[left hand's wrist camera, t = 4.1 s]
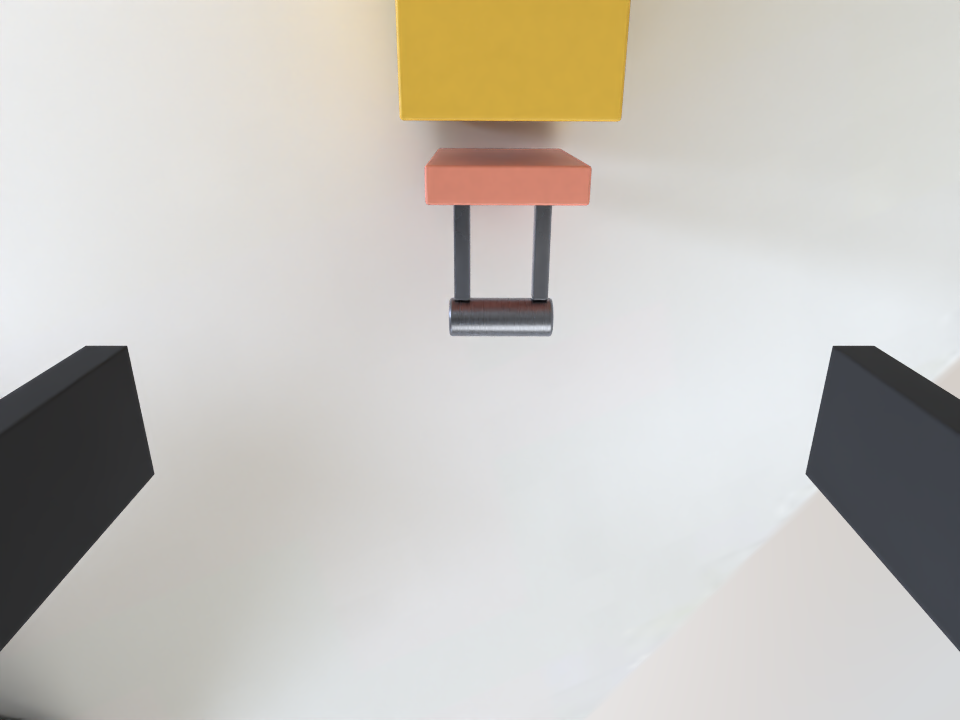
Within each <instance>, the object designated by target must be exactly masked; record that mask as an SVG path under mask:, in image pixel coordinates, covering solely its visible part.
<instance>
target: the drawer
mask: <svg viewBox="0 0 960 720" xmlns="http://www.w3.org/2000/svg"><path fill="white" fill-rule="evenodd" d="M591 170H592V169H591V166H589V165H587V164H585V163H584V162H582V161H580V160H579V159H577V158H575V157H573V156H572V155H570V154H568V153H567V152H565V151H563V150H561V149H485V148H440V149H438V150H437V152H436V153H435V154H434V155H433V157H432V158H431V159H430V161H429V162H428V163H427V165H426V166H425V202H426V204H428V205H454V288H455V298H451V299H450V304H449V330H450V335H451V336H551V334H552V330H553V303H552V300H551V299H550V298H548V281H549V259H550V237H551V214H552V205H588V204H589V200H590V185H591ZM470 205H534V233H533V262H532V290H531V296H532V298H470Z"/></svg>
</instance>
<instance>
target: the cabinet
mask: <svg viewBox="0 0 960 720" xmlns="http://www.w3.org/2000/svg"><path fill="white" fill-rule="evenodd" d="M630 2H631V0H395V5H396V31H397V58H398V84H399V110H400V119H401V120H432V121H620V120H621V115H622V103H623V90H624V77H625V65H626V52H627V40H628V27H629V14H630Z"/></svg>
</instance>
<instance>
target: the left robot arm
mask: <svg viewBox="0 0 960 720" xmlns="http://www.w3.org/2000/svg"><path fill="white" fill-rule="evenodd" d="M153 475H154V470H153V465H152V460H151V456H150V451H149V446H148V442H147V437H146V432H145V428H144V423H143V418H142V414H141V409H140V404H139V400H138V395H137V390H136V385H135V381H134V376H133V371H132V367H131V362H130V357H129V353H128V348H127V346H85V347H83V348H82V349H80V350H79V351H77V352H75V353H74V354H72V355H71V356H69V357H67V358H66V359H64V360H63V361H61V362H59V363H58V364H56V365H55V366H53V367H51V368H50V369H48V370H47V371H45V372H43V373H42V374H40V375H39V376H37V377H35V378H34V379H32V380H31V381H29V382H27V383H26V384H24V385H23V386H21V387H19V388H18V389H16V390H15V391H13V392H11V393H10V394H8V395H7V396H5V397H3V398H2V399H0V651H1V650H2V649H3V648H4V647H5V645H6V644H7V643H8V642H9V641H10V640H11V639H12V637H13V636H14V635H15V634H16V633H17V632H18V630H19V629H20V628H21V627H22V626H23V625H24V624H25V622H26V621H27V620H28V619H29V618H30V617H31V615H32V614H33V613H34V612H35V611H36V610H37V609H38V607H39V606H40V605H41V604H42V603H43V602H44V601H45V599H46V598H47V597H48V596H49V595H50V594H51V592H52V591H53V590H54V589H55V588H56V587H57V586H58V584H59V583H60V582H61V581H62V580H63V579H64V578H65V576H66V575H67V574H68V573H69V572H70V571H71V569H72V568H73V567H74V566H75V565H76V564H77V563H78V561H79V560H80V559H81V558H82V557H83V556H84V554H85V553H86V552H87V551H88V550H89V549H90V548H91V546H92V545H93V544H94V543H95V542H96V541H97V540H98V538H99V537H100V536H101V535H102V534H103V533H104V531H105V530H106V529H107V528H108V527H109V526H110V525H111V523H112V522H113V521H114V520H115V519H116V518H117V517H118V515H119V514H120V513H121V512H122V511H123V510H124V508H125V507H126V506H127V505H128V504H129V503H130V502H131V500H132V499H133V498H134V497H135V496H136V495H137V494H138V492H139V491H140V490H141V489H142V488H143V487H144V485H145V484H146V483H147V482H148V481H149V480H150V479H151V477H152V476H153ZM806 475H807V476H808V477H809V479H810V480H811V481H812V482H813V483H814V484H815V485H816V487H817V488H818V489H819V490H820V491H821V492H822V494H823V495H824V496H825V497H826V498H827V499H828V500H829V502H830V503H831V504H832V505H833V506H834V507H835V508H836V510H837V511H838V512H839V513H840V514H841V515H842V517H843V518H844V519H845V520H846V521H847V522H848V523H849V525H850V526H851V527H852V528H853V529H854V530H855V531H856V533H857V534H858V535H859V536H860V537H861V538H862V540H863V541H864V542H865V543H866V544H867V545H868V546H869V548H870V549H871V550H872V551H873V552H874V553H875V554H876V556H877V557H878V558H879V559H880V560H881V561H882V563H883V564H884V565H885V566H886V567H887V568H888V569H889V571H890V572H891V573H892V574H893V575H894V576H895V577H896V579H897V580H898V581H899V582H900V583H901V584H902V586H903V587H904V588H905V589H906V590H907V591H908V592H909V594H910V595H911V596H912V597H913V598H914V599H915V601H916V602H917V603H918V604H919V605H920V606H921V607H922V609H923V610H924V611H925V612H926V613H927V614H928V615H929V617H930V618H931V619H932V620H933V621H934V622H935V623H936V625H937V626H938V627H939V628H940V629H941V630H942V632H943V633H944V634H945V635H946V636H947V637H948V639H949V640H950V641H951V642H952V643H953V644H954V645H955V647H956V648H957V649H958V650H959V651H960V399H958V398H957V397H955V396H953V395H952V394H950V393H949V392H947V391H945V390H944V389H942V388H941V387H939V386H937V385H936V384H934V383H933V382H931V381H929V380H928V379H926V378H925V377H923V376H921V375H920V374H918V373H917V372H915V371H913V370H912V369H910V368H909V367H907V366H905V365H904V364H902V363H901V362H899V361H897V360H896V359H894V358H893V357H891V356H889V355H888V354H886V353H885V352H883V351H881V350H880V349H878V348H877V347H875V346H833V348H832V353H831V357H830V362H829V367H828V371H827V376H826V381H825V385H824V390H823V395H822V400H821V404H820V409H819V414H818V418H817V423H816V428H815V432H814V437H813V442H812V446H811V451H810V456H809V460H808V465H807V470H806ZM0 720H2V719H0Z"/></svg>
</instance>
